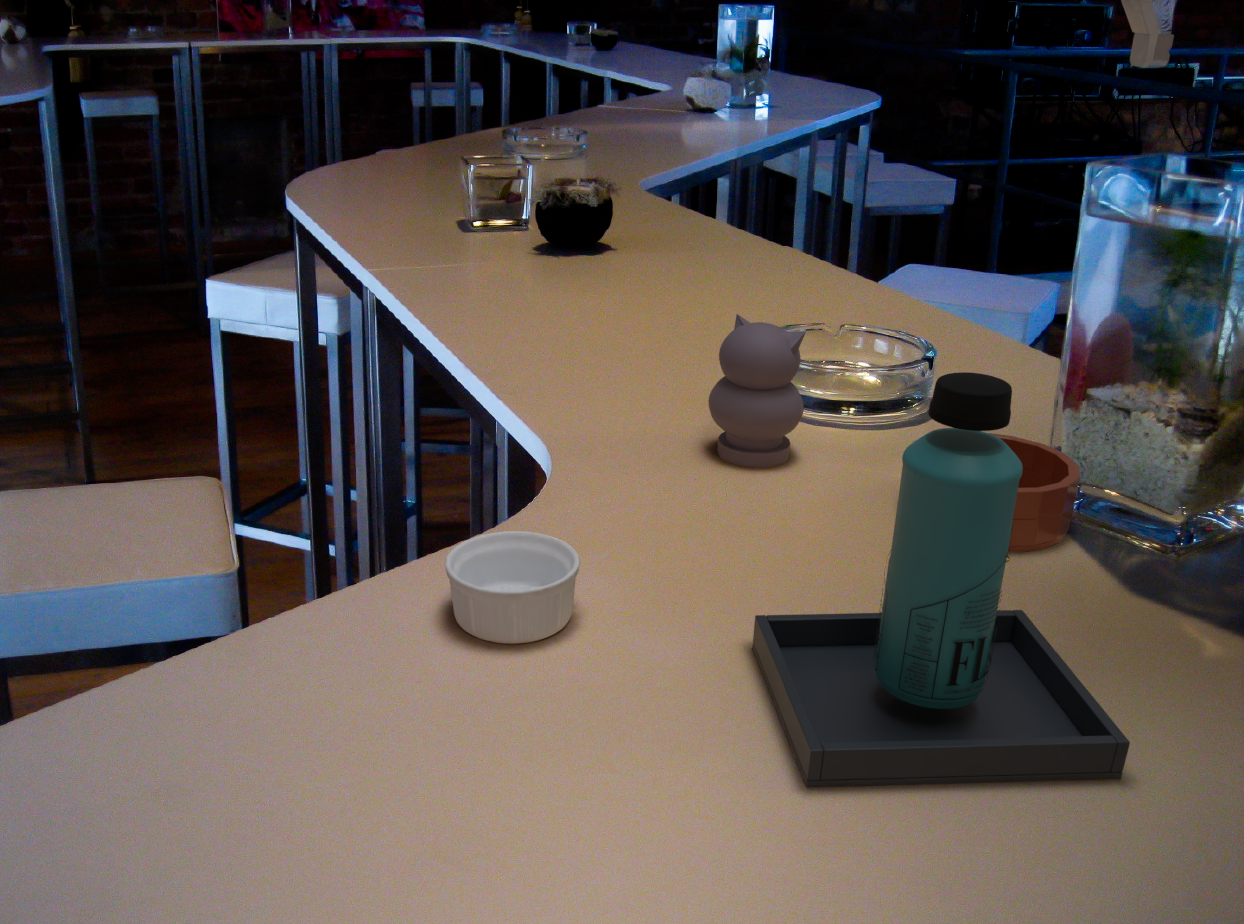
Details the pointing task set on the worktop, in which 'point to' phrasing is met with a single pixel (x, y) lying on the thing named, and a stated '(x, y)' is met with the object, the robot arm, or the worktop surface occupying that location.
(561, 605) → the ramekin
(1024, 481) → the bowl
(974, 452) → the beverage bottle
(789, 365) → the cat figurine
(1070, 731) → the tray
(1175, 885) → the worktop surface
